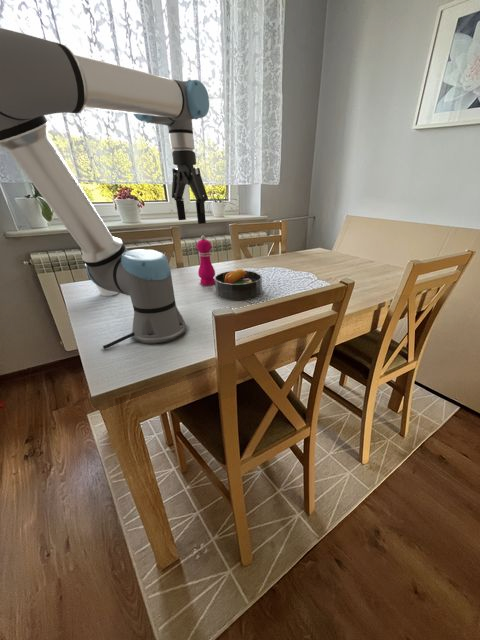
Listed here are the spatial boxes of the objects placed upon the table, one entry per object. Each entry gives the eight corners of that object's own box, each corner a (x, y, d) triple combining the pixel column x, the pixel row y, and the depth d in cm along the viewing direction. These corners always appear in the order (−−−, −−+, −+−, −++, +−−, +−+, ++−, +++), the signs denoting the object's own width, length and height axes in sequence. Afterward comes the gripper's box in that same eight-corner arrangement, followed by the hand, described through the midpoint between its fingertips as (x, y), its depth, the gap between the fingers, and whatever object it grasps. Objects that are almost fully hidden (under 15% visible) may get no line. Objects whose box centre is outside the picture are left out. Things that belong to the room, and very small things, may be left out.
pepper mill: (208, 287, 125) (203, 237, 115) (196, 284, 128) (190, 236, 118) (219, 282, 130) (215, 235, 120) (207, 280, 133) (202, 233, 123)
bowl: (235, 304, 107) (234, 287, 104) (207, 292, 119) (205, 276, 116) (271, 293, 118) (271, 277, 115) (242, 282, 130) (241, 268, 127)
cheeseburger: (251, 296, 113) (244, 271, 108) (226, 300, 116) (218, 276, 111) (256, 287, 121) (250, 263, 117) (233, 291, 124) (226, 269, 120)
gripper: (214, 148, 89) (220, 224, 100) (175, 153, 104) (183, 217, 115) (193, 147, 84) (201, 226, 95) (155, 152, 100) (165, 219, 111)
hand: (191, 221), depth 105 cm, fingers open, 13 cm apart
